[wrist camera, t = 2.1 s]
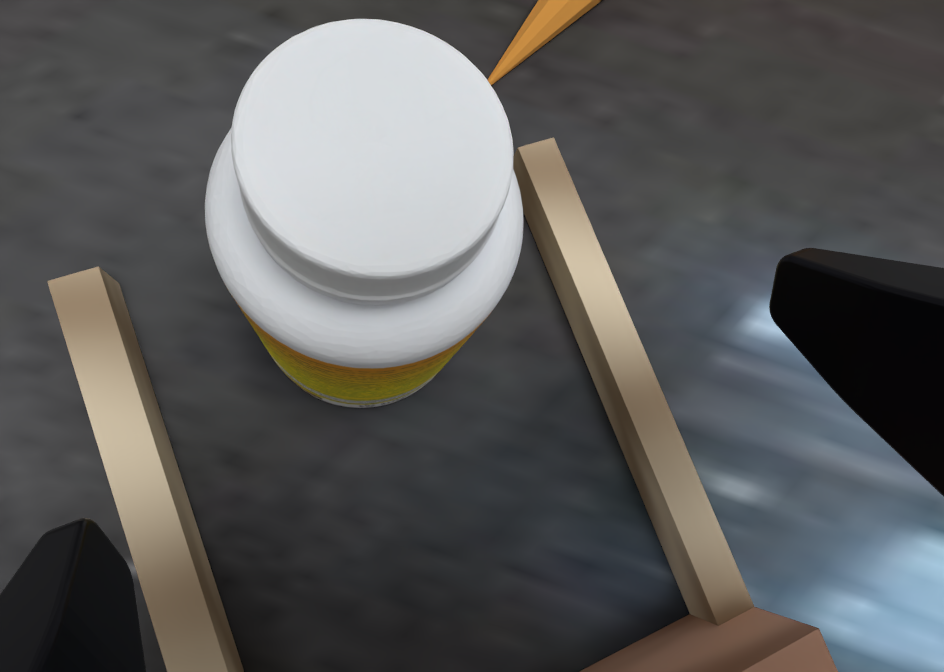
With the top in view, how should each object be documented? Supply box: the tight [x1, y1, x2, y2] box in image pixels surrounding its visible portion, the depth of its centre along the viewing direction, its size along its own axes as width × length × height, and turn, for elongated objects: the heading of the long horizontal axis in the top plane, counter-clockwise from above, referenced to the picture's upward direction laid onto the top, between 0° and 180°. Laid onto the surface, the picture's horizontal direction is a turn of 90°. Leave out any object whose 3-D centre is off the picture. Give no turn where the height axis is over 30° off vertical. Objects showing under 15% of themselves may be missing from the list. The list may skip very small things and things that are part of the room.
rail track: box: [47, 138, 838, 672], centre depth 16 cm, size 18×14×4 cm
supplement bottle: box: [205, 19, 523, 408], centre depth 14 cm, size 6×6×10 cm
